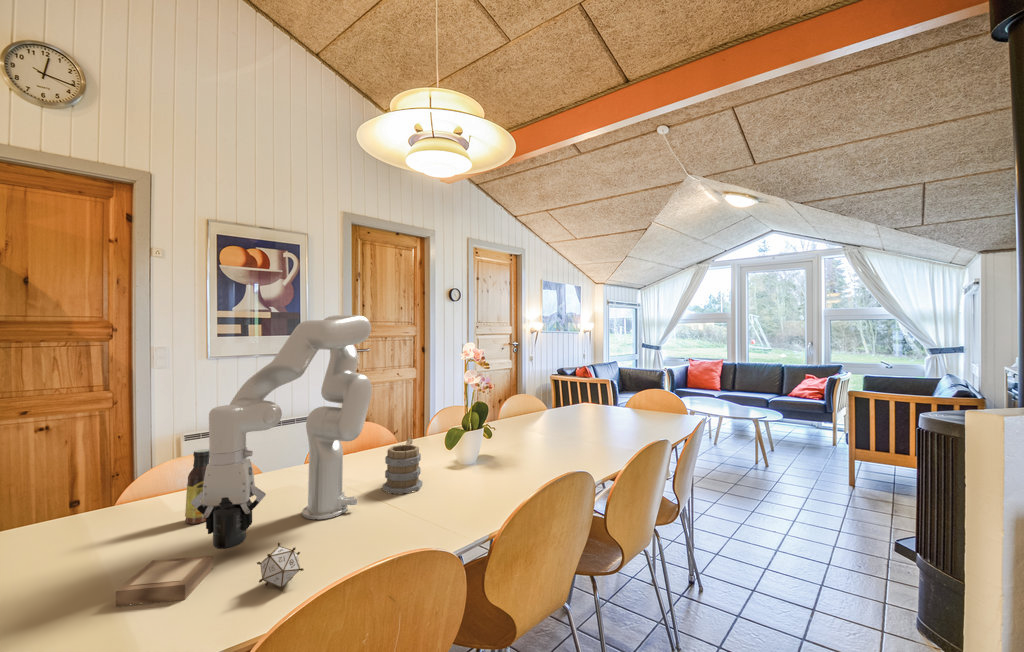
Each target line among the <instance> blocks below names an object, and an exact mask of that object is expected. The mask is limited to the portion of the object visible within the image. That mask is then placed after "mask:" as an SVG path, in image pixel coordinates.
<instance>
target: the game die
mask: <svg viewBox="0 0 1024 652" xmlns="http://www.w3.org/2000/svg"><path fill="white" fill-rule="evenodd" d="M300 553H301V551H298V552H296V546H295V547H292V549H290V548H288V547H285V546H281V543H280V542H278V543H277V547H276V548H275V549H274V550H273V551H272V552H271V553H267V555H266V557H265V558H264V559H263V560H262V561H257V562H256V564H257V565H260V572H261V578H260V579H259V581H258V583H261V582H265V584H264V586H266V587H267V586H268V585H272V586H276V587H278V588H280V592H281V593H283V591H284V586H285V585H286V584H287V583H288V582H289V581H290V580H291V579H293V577H294V576H295V575H297V573H299V572H303V571H304V570H305V569H304V568H301V567H300V566H301V565H300V561H299V557H298V556H299V555H300Z"/></svg>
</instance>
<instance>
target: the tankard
mask: <svg viewBox="0 0 1024 652" xmlns="http://www.w3.org/2000/svg"><path fill="white" fill-rule="evenodd" d="M413 440H414V439H412V437H407V440H406V443H405V444H402V445H401V444H399V445H393V446H390V447H389V448H388V449H387V451H386V452H387V455H386V456H385V457H384V458H385V459H384V460H385V465H386V470H384V473H385V474H384V478H386V482H385V483H384V484H383V485H382V490H383V489H384V490H385V491H384V490H383V491H384V492H386V491H387V492H386V493H388V492H389V493H388V494H390V493H408V494H410V493H409V492H412V491H416V490H419V491H420V490H421V488H422V486H423V480H421V479H419V478H420V477H419V476H420V475H421V472H422V471H421V468H422V467H420V462H421V458H422V455H421V453H420V447H419V446H417V445H414V444H413ZM420 487H421V488H420ZM416 492H417V491H416ZM412 493H413V492H412Z"/></svg>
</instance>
